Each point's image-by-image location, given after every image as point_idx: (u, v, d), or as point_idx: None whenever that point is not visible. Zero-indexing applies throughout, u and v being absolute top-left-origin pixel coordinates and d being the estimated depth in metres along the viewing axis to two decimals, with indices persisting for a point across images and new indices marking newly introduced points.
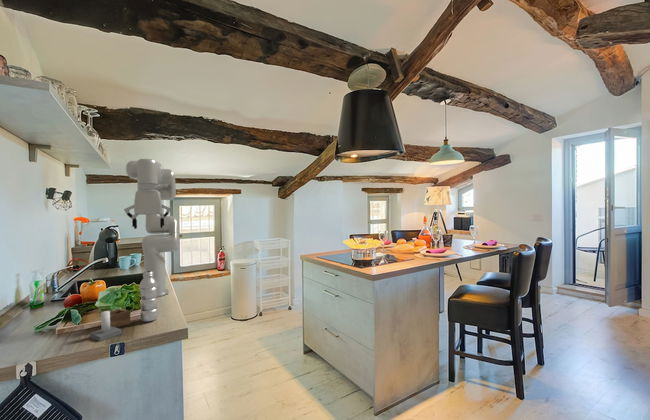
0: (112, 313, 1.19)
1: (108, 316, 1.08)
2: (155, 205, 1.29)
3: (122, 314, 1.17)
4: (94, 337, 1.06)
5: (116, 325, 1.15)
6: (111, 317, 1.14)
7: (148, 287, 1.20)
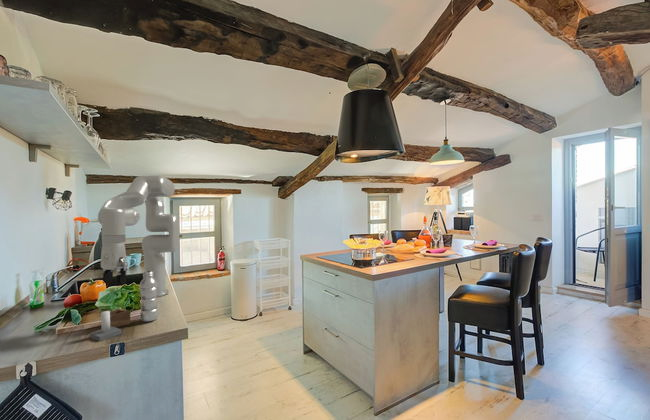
0: (112, 313, 1.19)
1: (108, 316, 1.08)
2: None
3: (122, 314, 1.17)
4: (94, 337, 1.06)
5: (116, 325, 1.15)
6: (111, 317, 1.14)
7: (148, 287, 1.20)
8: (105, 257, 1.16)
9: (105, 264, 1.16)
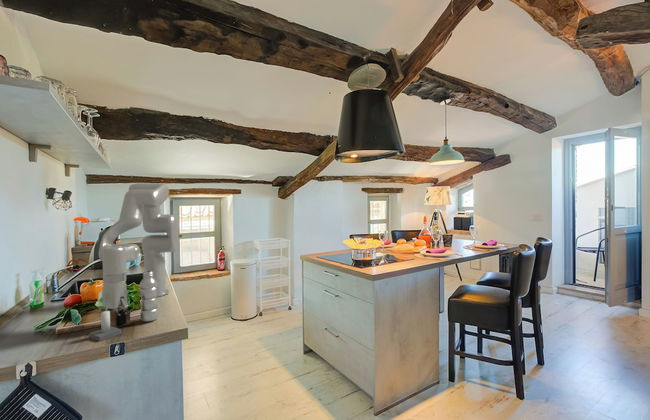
0: (112, 313, 1.19)
1: (108, 316, 1.08)
2: None
3: None
4: (94, 337, 1.06)
5: None
6: (111, 317, 1.14)
7: (148, 287, 1.20)
8: (106, 296, 1.16)
9: (106, 303, 1.16)
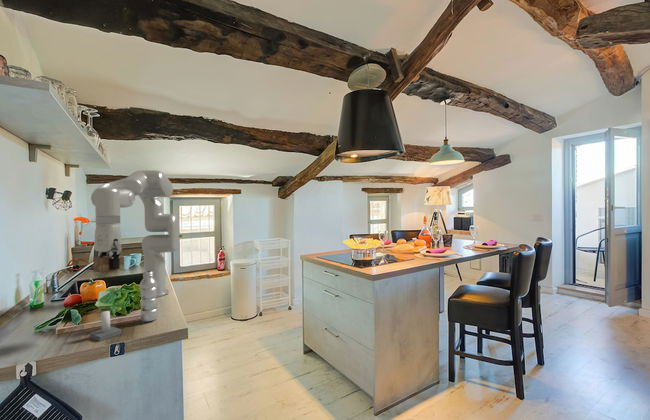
0: None
1: (108, 316, 1.08)
2: None
3: None
4: (94, 337, 1.06)
5: None
6: (103, 260, 1.08)
7: (148, 287, 1.20)
8: (99, 239, 1.11)
9: (99, 246, 1.11)
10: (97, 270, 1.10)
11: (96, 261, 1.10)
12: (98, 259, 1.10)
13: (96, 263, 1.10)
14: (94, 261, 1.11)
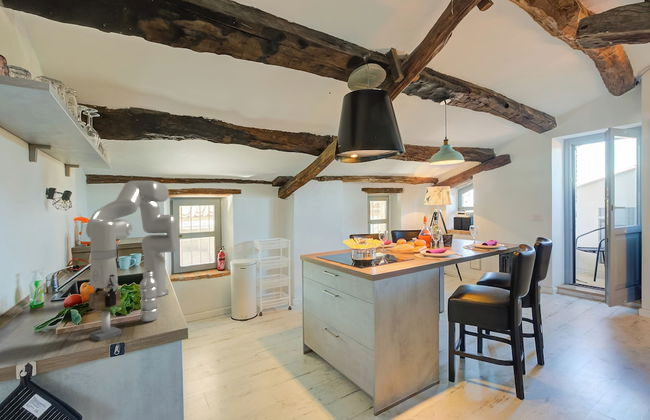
0: (101, 294, 1.09)
1: (108, 316, 1.08)
2: None
3: None
4: (94, 337, 1.06)
5: None
6: (99, 297, 1.04)
7: (148, 287, 1.20)
8: (94, 274, 1.06)
9: (94, 282, 1.06)
10: (92, 307, 1.06)
11: (91, 298, 1.06)
12: (93, 296, 1.05)
13: (92, 300, 1.06)
14: (89, 297, 1.07)
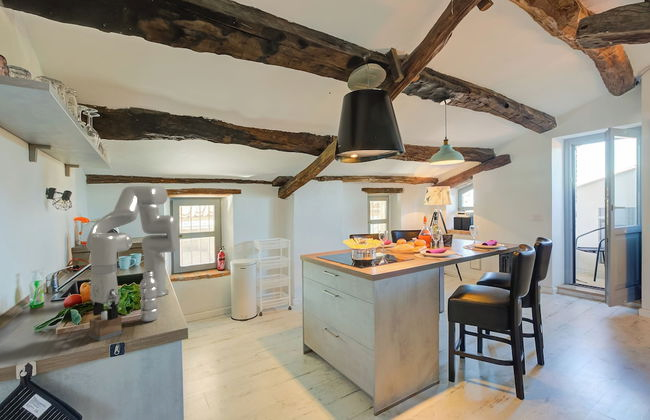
0: None
1: None
2: None
3: (112, 319, 1.08)
4: (94, 337, 1.06)
5: (106, 332, 1.06)
6: (100, 323, 1.04)
7: (148, 287, 1.20)
8: (95, 289, 1.06)
9: (95, 296, 1.06)
10: (93, 333, 1.06)
11: (92, 324, 1.06)
12: (94, 322, 1.06)
13: (93, 325, 1.06)
14: (90, 323, 1.07)
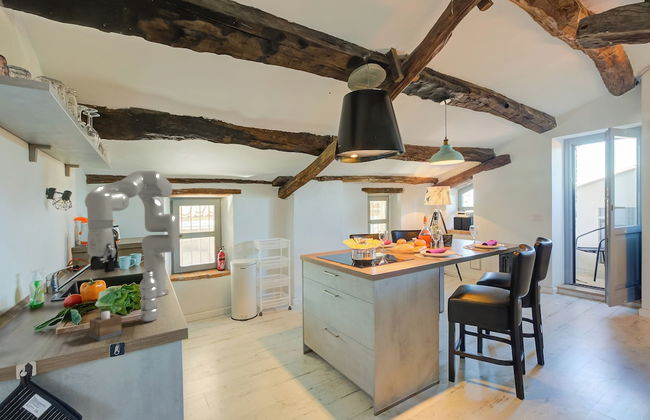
0: None
1: (108, 316, 1.08)
2: None
3: (112, 319, 1.08)
4: (94, 337, 1.06)
5: (106, 332, 1.06)
6: (100, 323, 1.04)
7: (148, 287, 1.20)
8: (92, 243, 1.11)
9: (92, 250, 1.11)
10: (93, 333, 1.06)
11: (92, 324, 1.06)
12: (94, 322, 1.06)
13: (93, 325, 1.06)
14: (90, 323, 1.07)
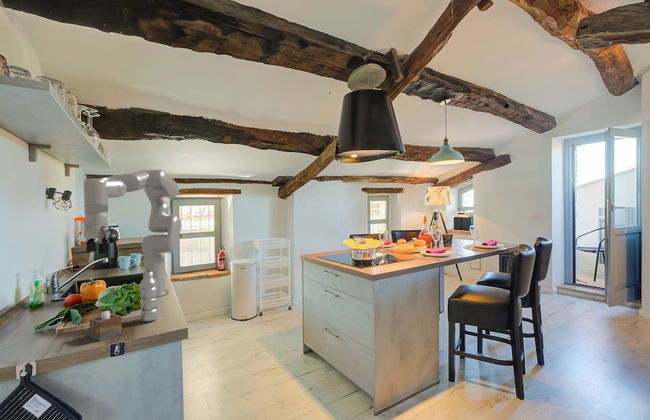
0: None
1: (108, 316, 1.08)
2: None
3: (112, 319, 1.08)
4: (94, 337, 1.06)
5: (106, 332, 1.06)
6: (100, 323, 1.04)
7: (148, 287, 1.20)
8: (88, 226, 1.18)
9: (88, 233, 1.18)
10: (93, 333, 1.06)
11: (92, 324, 1.06)
12: (94, 322, 1.06)
13: (93, 325, 1.06)
14: (90, 323, 1.07)
